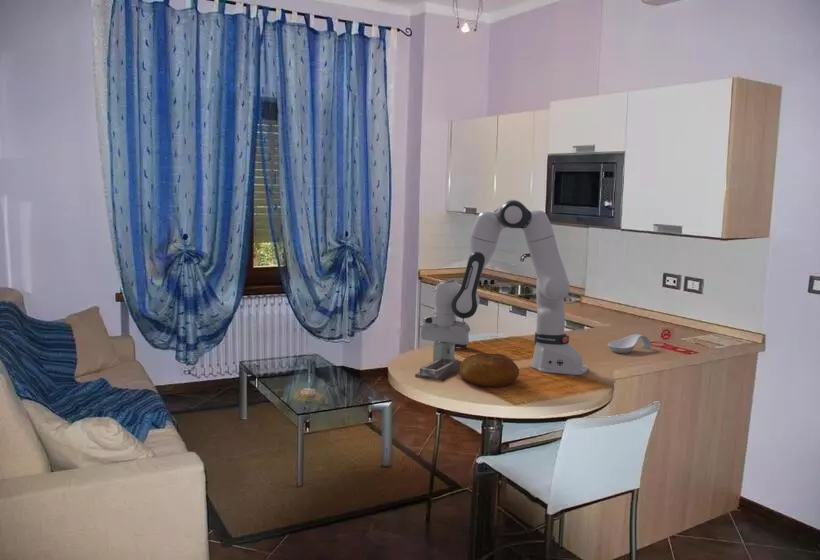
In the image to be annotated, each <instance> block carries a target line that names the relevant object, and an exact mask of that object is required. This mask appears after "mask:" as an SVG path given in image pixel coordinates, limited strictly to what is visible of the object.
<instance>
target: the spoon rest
mask: <svg viewBox="0 0 820 560" xmlns="http://www.w3.org/2000/svg"><path fill="white" fill-rule="evenodd" d="M639 339H641V340H642V341H641V347H642V348H644V349H648V350H650V349H651V348H652V347H651V346H652V344H651V340H650V339H649V338H648V337H647V336H646V335H644V334H639V333H634V334H631V335H627V336H626V337H623V338H619V339H616V340H612V341H609V342H608V343H607V347H608V348H609V349H610V350H611V351H612V352H614V353H618V354H629V353H630V352H632V351H633V350H634V348H635V347H636V345H637V343H638V342H639Z"/></svg>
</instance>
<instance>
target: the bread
mask: <svg viewBox="0 0 820 560" xmlns="http://www.w3.org/2000/svg"><path fill="white" fill-rule="evenodd" d="M459 366H460V371H459V373H460V376H461V378H462V379H463V380H465V381H466V382H468V383H470V384H473V385H477V386H480V387H482V386H483V387H490V388H491V387H493V388H495V387H496V388H499V387H505V386H507V385H509V384H510V383H513V382H515V381H516V380H517V379H518V377H519V375H520V369H519V366H518V365H517V364H516V362H514V361H513V359H511V357H508V356H506V355H503V354H501V353H487V352H486V353H482V352H481V353H476V354H473V355H470V356H467V357H466V358H464V359H463V360H462V361H461V363H460V365H459Z"/></svg>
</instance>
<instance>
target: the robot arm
mask: <svg viewBox="0 0 820 560" xmlns="http://www.w3.org/2000/svg"><path fill="white" fill-rule="evenodd" d="M505 228H509V229H521V230H522V231H523V234H524V236H525V241H526V244H527V247H528V248H527V249H528V252H529V256H530V259H531V263H532V265H533V268H534V271H535V274H536V277H537V278H536V281H535V282H536V287H535V288H536V290H535V291H536V293H535V294H536V297H535V298H536V330H535V332H534V341H533V342H534V351H533V357H532V359H531V362H530V367H531V368H533V369H536V370H538V371H539V372H541V373H551V374H561V375H562V374H563V375H564V374H565V375H573V376H574V375H575V376H580V375H584V374H586V373H587V372H588V371H589V370H588V369H589V367H588V366H587V365H583V359H582V358H583V357H582V354H581V353H580V352H579V351H578V350H577V349H575V347H574V346H572V345H571V344H570V343H569V342H570V334H566V333H565V323H566V311H565V298H566V297H568V296H569V294H570V290H571V289H570V288H571V286H570V285H571V284H570V281H569V278H568V276H567V272H566V269H565V266H564V264H563V261H562V258H561V254H560V252H559V248H558V244H557V240H556V236H555V232H554V230H553V226H552V224H551V221H550V220H549V216H548V215H547V213H546V212H544V211H543V210H533V211H530V209H528V208H527V207H526V206H525V204H523V203H522V202H521V201H520V200H516V199H509V200H508V199H507V200H505V201H504V202H502V204H500V205H499V207H497V209H496V210H494V211H493V212H491V211H482V212H480V213H479V214H478V216H477V217H476V220H475V222H474V224H473V227H472V229H471V233H470V236H469V240H468V246H467V256H466V257H467V260H466V266H465V267H466V268H465V272H464V276H463V278H462V283H461V284H459V283H458V282H457V281H456V280H453V279H448V280H444V281H440V282H438V284H436V287H435V297H434V303H435V308H434V314H431V315H428V316H426V317H424V318H423V319H422V320H423V324H422V325H421V329H420V331H421V332H420V338H421V339H422V340H424V341H430V342H431V341H433V346H434V345H435V344H437V343H439V342H445V343H450V346H451V347H450V349H447V351H448V352H447V353H448V354H452V349H453V348H454V346H455V344H461V345H465V344H467V345H468V344H469V341H470V339H469V334H468V331H469V328H470V326H469V324H468V323H467V322H466V321H459V320H457V317H458V318H461V319H469V318H471V317H473V316H474V315H475V314H476V312H477V309H478V308H479V305H480V301H481V300H480V299H481V298H480V295H479V294H478V293H477V291H478V289H479V284H480V280H481V277H482V274H483V272H484V270H485V268H486V266H487V265H488V263H489V262H490V261H491V259H492V257H493V255H494V253H495V250H496V248H497V244H498V240H499V237H500V234H501V232H502V231H503V230H504V229H505ZM469 332H470V331H469Z"/></svg>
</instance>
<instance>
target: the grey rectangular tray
mask: <svg viewBox="0 0 820 560" xmlns="http://www.w3.org/2000/svg"><path fill="white" fill-rule="evenodd" d="M457 373H460V365H459V359H455V358H454V359H447V358H440V359H438V360H436V361H434V362H433V361H432V362H430V363H428V364H426V365H423V366H422V367H420V368H419V372H417V373H415V376H414V377H415V378H421V379H425V380H432V381H438V382H439V381H440V382H443V381H444V380H447V379H448V378H450V377H452V376H454V375H455V374H457Z"/></svg>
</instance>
